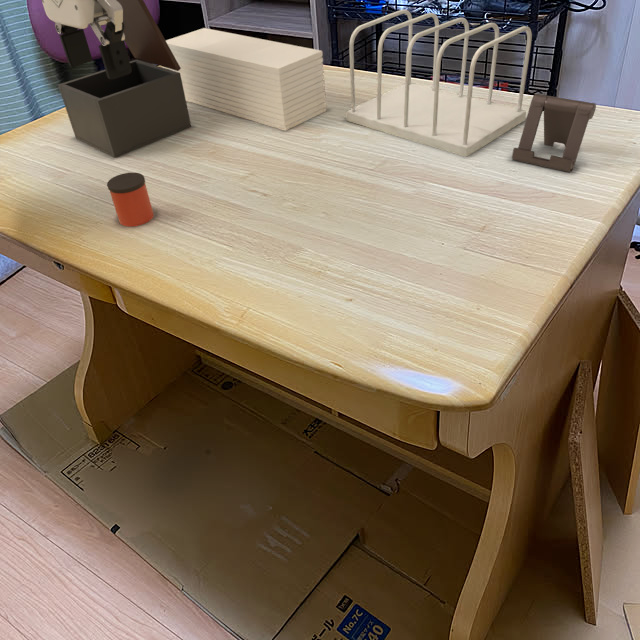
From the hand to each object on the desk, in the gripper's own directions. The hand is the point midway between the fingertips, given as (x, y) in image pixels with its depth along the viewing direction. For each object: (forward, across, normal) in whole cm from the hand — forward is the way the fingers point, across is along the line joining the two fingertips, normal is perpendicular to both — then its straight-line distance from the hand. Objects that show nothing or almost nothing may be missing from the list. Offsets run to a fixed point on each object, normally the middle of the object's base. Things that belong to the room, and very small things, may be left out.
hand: (100, 69), depth 81 cm
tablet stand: (+20, +41, +46) cm, 65 cm away
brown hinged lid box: (+19, -22, +14) cm, 32 cm away
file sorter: (+20, +19, +48) cm, 55 cm away
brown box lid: (+1, -22, +19) cm, 29 cm away
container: (+19, +5, -4) cm, 20 cm away
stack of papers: (+19, -16, +35) cm, 43 cm away
